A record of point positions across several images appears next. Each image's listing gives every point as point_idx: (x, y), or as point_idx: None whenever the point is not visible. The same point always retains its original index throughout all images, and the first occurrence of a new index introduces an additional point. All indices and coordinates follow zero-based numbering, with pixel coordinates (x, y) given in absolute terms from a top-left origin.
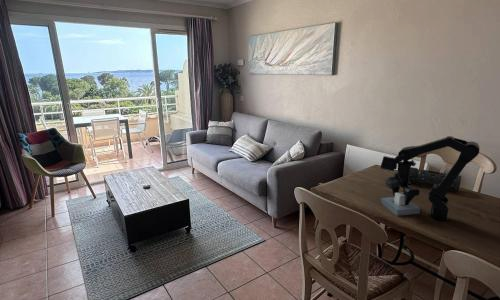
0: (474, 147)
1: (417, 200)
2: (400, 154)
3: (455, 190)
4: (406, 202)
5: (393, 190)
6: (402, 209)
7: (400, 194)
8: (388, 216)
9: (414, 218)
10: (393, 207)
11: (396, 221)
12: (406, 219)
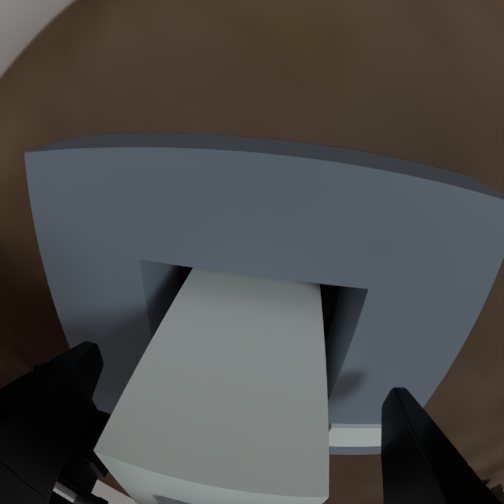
0: None
1: (329, 469)
2: None
3: None
4: (43, 371)
5: (442, 496)
6: (41, 238)
7: (182, 499)
8: (86, 28)
9: (41, 273)
10: (108, 146)
11: (5, 75)
12: (21, 192)
